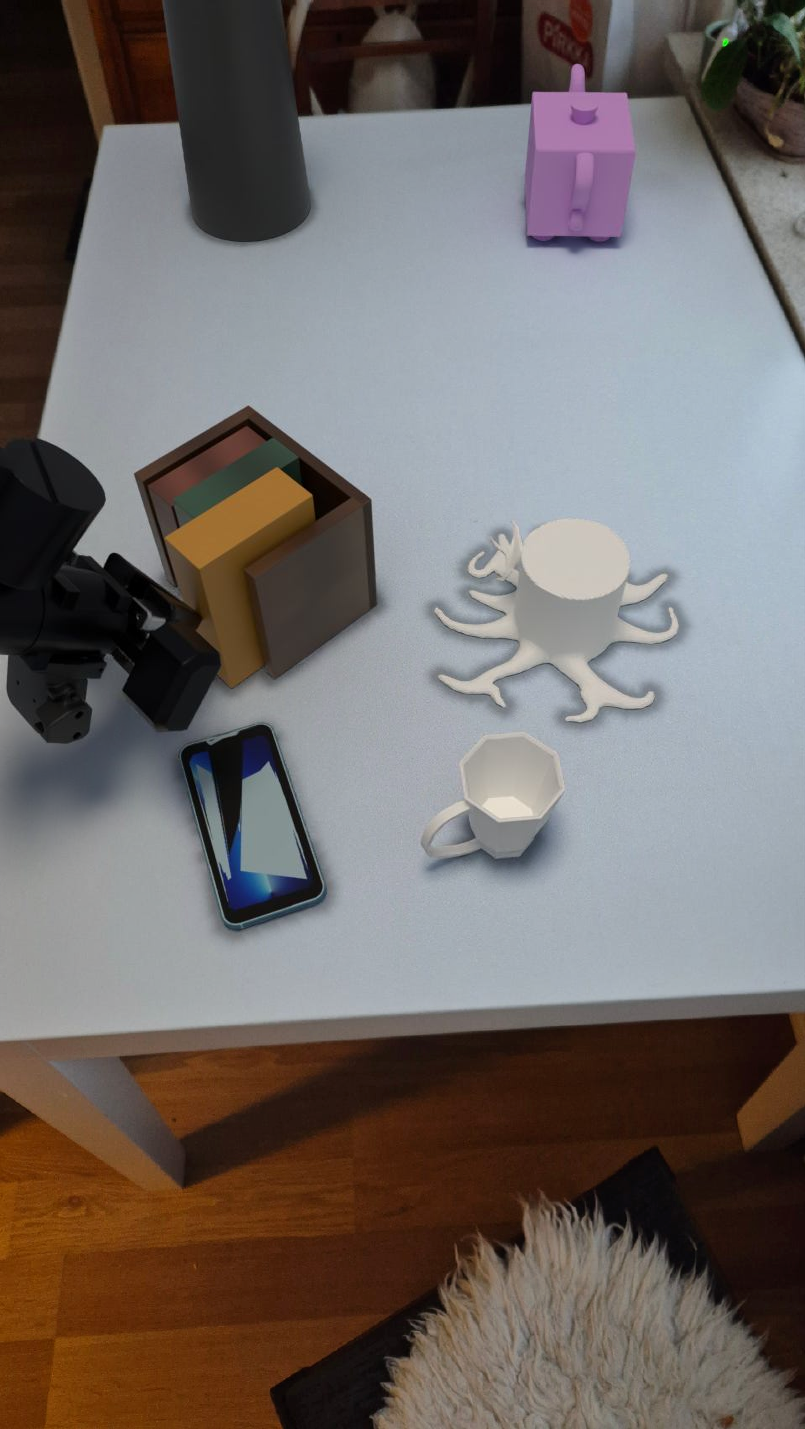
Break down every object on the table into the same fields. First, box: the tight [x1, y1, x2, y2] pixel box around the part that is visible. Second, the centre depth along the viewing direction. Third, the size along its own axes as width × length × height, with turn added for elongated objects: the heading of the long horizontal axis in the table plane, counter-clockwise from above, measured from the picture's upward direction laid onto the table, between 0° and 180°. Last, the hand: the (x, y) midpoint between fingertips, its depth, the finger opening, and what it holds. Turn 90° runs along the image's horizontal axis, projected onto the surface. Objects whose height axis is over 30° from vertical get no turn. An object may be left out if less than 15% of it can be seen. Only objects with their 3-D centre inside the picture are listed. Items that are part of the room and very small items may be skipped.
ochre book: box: [164, 467, 316, 689], centre depth 76 cm, size 10×4×14 cm, turn 133°
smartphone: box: [177, 722, 327, 930], centre depth 72 cm, size 7×1×15 cm
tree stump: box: [433, 517, 680, 723], centre depth 78 cm, size 20×19×8 cm
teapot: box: [524, 63, 637, 243], centre depth 109 cm, size 20×10×12 cm, turn 177°
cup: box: [420, 731, 566, 860], centre depth 68 cm, size 7×10×8 cm
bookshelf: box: [133, 405, 378, 680], centre depth 79 cm, size 11×14×13 cm
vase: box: [161, 0, 311, 242], centre depth 104 cm, size 14×14×29 cm
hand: (197, 620), depth 74 cm, fingers closed, pressing on ochre book
